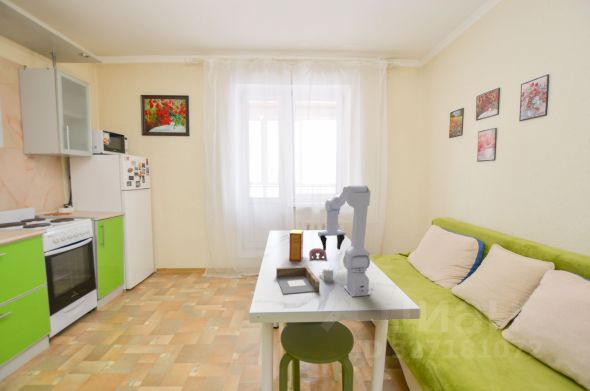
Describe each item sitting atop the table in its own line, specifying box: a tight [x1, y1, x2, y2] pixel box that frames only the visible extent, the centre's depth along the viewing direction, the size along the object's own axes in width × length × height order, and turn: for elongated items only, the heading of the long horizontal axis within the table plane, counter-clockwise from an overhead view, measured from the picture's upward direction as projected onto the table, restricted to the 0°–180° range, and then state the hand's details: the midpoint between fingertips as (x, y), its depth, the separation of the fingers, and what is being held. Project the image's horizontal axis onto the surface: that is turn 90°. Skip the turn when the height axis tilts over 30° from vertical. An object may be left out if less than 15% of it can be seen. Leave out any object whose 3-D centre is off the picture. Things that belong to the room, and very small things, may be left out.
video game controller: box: [308, 247, 327, 261], centre depth 148 cm, size 10×5×7 cm, turn 92°
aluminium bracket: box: [318, 268, 334, 282], centre depth 120 cm, size 6×4×5 cm
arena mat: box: [276, 276, 316, 295], centre depth 114 cm, size 18×15×1 cm
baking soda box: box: [288, 229, 304, 262], centre depth 148 cm, size 10×6×16 cm
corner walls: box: [275, 265, 320, 293], centre depth 113 cm, size 18×15×4 cm
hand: (331, 249), depth 133 cm, fingers open, 7 cm apart
